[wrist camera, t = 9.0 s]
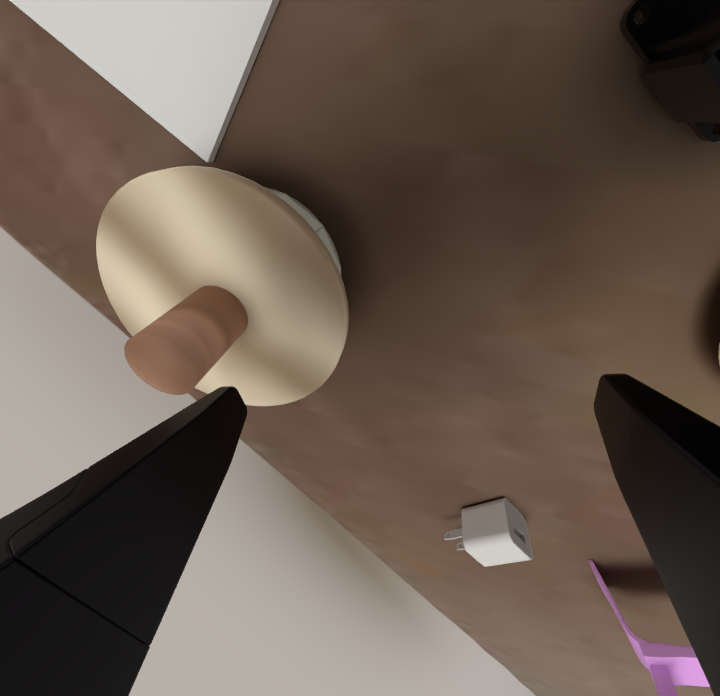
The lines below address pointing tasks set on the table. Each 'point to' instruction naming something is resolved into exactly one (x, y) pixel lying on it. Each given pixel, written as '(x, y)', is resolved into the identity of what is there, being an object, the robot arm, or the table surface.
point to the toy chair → (661, 655)
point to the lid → (221, 286)
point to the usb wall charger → (493, 533)
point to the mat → (166, 55)
